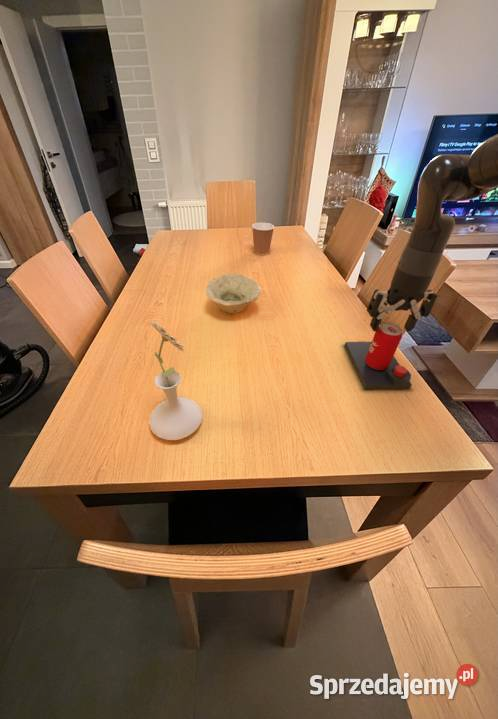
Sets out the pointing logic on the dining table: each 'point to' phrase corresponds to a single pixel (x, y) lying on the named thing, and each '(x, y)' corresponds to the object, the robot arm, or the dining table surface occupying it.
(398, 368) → the button
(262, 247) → the coffee cup
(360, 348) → the grey plate red button
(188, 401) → the flower in vase
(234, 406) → the dining table surface
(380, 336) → the beverage can
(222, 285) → the bowl
